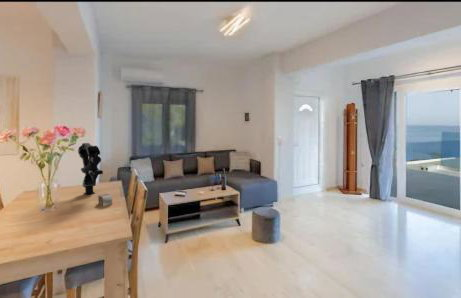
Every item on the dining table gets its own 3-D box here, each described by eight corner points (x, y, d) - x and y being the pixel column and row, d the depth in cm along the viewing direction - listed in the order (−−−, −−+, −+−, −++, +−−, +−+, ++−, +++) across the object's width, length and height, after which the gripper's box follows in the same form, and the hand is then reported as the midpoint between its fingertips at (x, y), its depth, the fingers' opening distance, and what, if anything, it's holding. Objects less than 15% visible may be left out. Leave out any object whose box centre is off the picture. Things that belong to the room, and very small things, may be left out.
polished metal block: (98, 195, 188) (103, 197, 183) (106, 193, 192) (112, 195, 187) (98, 203, 188) (103, 206, 183) (106, 201, 193) (112, 203, 188)
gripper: (76, 161, 200) (77, 181, 202) (87, 164, 188) (88, 186, 190) (92, 160, 209) (92, 179, 210) (102, 163, 197) (103, 183, 199)
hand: (94, 182), depth 202 cm, fingers closed
